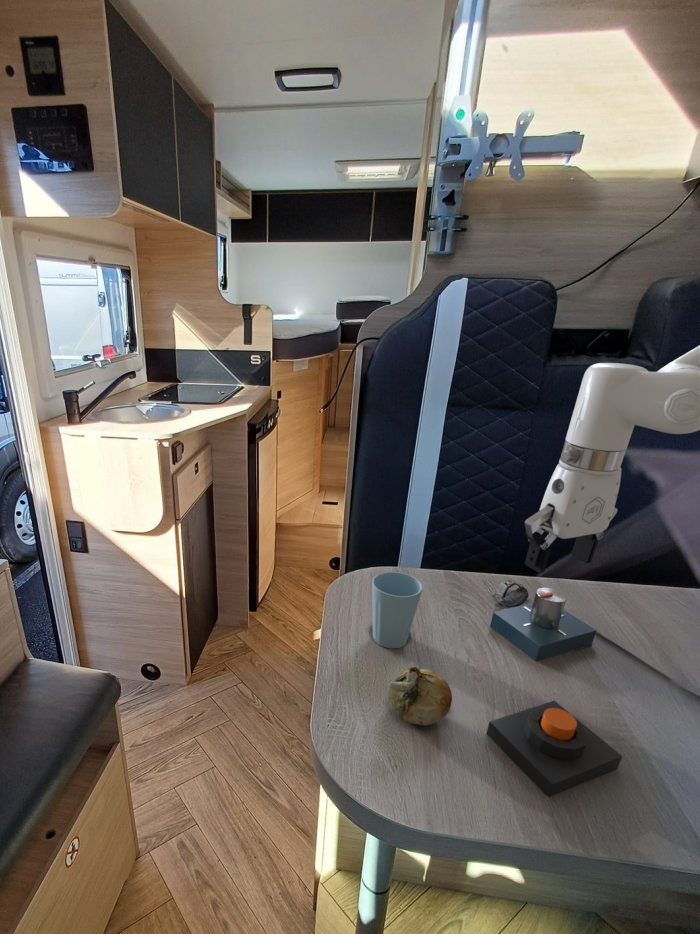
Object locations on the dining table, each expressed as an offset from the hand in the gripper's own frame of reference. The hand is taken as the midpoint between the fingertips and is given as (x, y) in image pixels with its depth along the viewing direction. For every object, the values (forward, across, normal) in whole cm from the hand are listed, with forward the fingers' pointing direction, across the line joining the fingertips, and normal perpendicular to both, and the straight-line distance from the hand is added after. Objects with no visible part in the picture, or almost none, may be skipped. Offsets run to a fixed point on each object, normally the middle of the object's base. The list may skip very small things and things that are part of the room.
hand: (557, 563), depth 80 cm
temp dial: (+10, 0, 0) cm, 10 cm away
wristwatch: (+14, +4, +10) cm, 17 cm away
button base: (+14, -18, -19) cm, 29 cm away
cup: (+14, -24, +8) cm, 28 cm away
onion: (+14, -30, -8) cm, 34 cm away
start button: (+10, -18, -19) cm, 28 cm away
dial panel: (+14, 0, 0) cm, 14 cm away
